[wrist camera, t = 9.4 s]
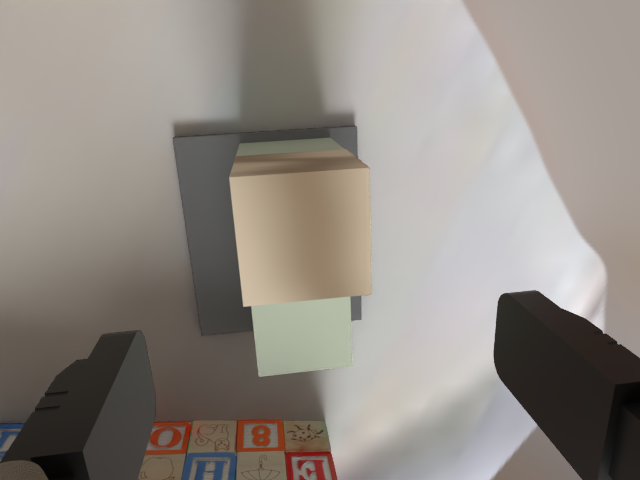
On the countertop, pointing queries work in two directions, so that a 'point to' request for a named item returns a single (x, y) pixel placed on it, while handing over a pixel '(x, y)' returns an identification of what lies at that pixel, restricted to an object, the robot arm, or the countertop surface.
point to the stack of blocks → (229, 450)
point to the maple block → (302, 226)
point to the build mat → (227, 220)
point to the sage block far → (303, 336)
